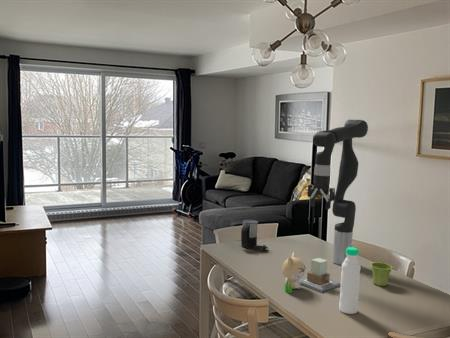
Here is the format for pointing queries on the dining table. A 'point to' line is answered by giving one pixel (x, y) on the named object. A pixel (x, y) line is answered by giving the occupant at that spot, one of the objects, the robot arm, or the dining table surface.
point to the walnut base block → (318, 278)
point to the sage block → (319, 266)
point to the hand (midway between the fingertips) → (320, 207)
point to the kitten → (293, 272)
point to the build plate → (316, 287)
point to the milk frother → (250, 235)
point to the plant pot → (381, 273)
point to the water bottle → (350, 282)
